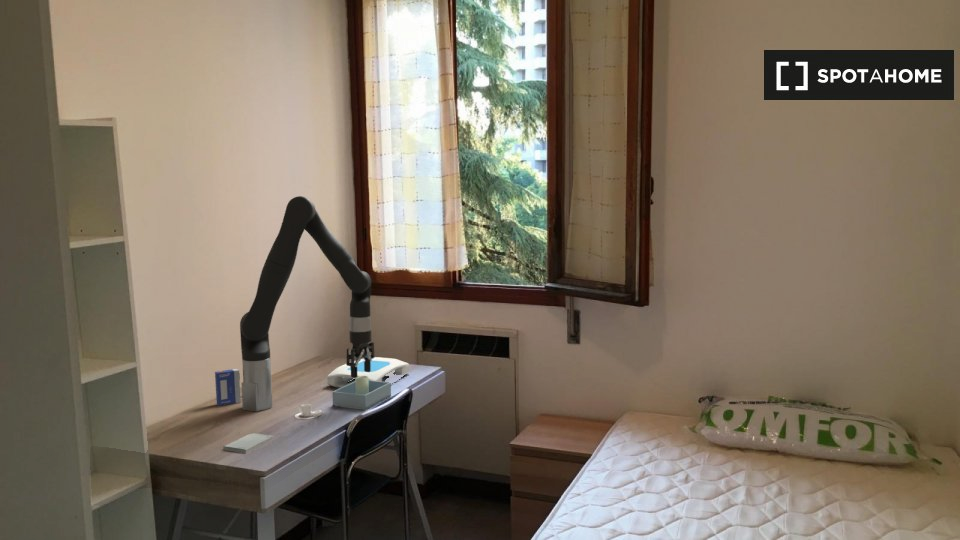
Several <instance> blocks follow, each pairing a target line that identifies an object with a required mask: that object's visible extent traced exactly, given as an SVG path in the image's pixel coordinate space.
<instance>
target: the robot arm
mask: <svg viewBox="0 0 960 540" xmlns="http://www.w3.org/2000/svg"><path fill="white" fill-rule="evenodd" d="M283 215H284V216H283V219H282V223H281V226H280V229H279V232H278V233H277V236H276V238H275V239H274V241H273V244H272V246H271V247H270V250H269V252H268V255H267V257H266V259H265V260H264V261H265V262H264V264H263V267H262V269H261V271H260V272H261V273H260V277H259V279H258V284H257V289H256V294H255V297H254V299H253V302H252V304H251V306H250V308H249V311H247V312H246V313H244V314H243V315H242V317H241V319H240V322H239V329H240V330H239V333H240V350H241V359H242V360H241V361H242V362H241V364H242V378H243V379H242V382H241V400H242V401H241V402H242V410H244V411H249V412H259V411H264V410H269V409H270V408H272V407H273V406H274V405H273V388H272V386H273V385H272V365H271V364H272V363H271V348H270V338H269V337H270V336H269V330H270V328H271V324H272V321H273V316H274V314H275V313H274V312H275V310H276V306H277V304H278V302H279V300H280V298H281V296H282V294H283V293H284V290H285V288H286V286H287V283H288V281H289V278H290V276H291V274H292V272H293V268H294V265H295V263H296V259H297V255H298V250H299V245H300V242H301V241H300V240H301V239H302V238H301V237H302V235H303V233H304V232H305V231H306V232H307V233H308V234H309V236H310V237H311V238H312V239H313V241H314V242H315V243H316V244H317V245H318V248H319V249H320V250H321V252H322V253H323V254H324V256H325V258H326V259H327V260H328V261H329V263H330V264H331V265H332V267H333V268H335V269H336V271H337V272H338V273H339V276H340V277H341V279H342V280H343V282H344V283H345V285H346V286H347V287H348V288H349V290H350V291H351V300H350V302H349V323H348V325H349V332H348V333H349V342H350V343H351V345H352V348H347V349H346V363H345V364H346V365H347V366H350V367H351V377H354V378H356V377H357V365H358V362H359V361H360V360H361V359H364V360H365V361H364V371H365V372H370V371H371V361H372V358H374V357H375V342H373V341H372V318H371V294H372V293H371V292H372V278H371V276H370V275H369V273H368V272H366V271H363V270H361V269H360V268H359V266H357V264H356V262H355V259H354V257H353V255H351V253H349V251H348V250H347V248H346V247H345V246H344V245H343V243H342V242H341V241H340V240H339V239H338V238H337V237H336V236H335V234H333V232H331V229H329V228H328V226H327V225H326V223H324V221H323V219H322V218H321V216H320V215H319V213H318V211H317V209H316V206H315V203H313V202H312V201H311V199H309V198H308V197H306V196H301V195H299V196H295V197H293V198H291V199H290V200H289V201H288V203H287V204H286V209H285V211H284V214H283ZM354 361H356V362H355V363H354Z"/></svg>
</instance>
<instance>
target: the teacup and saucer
mask: <svg viewBox="0 0 960 540" xmlns="http://www.w3.org/2000/svg"><path fill="white" fill-rule="evenodd" d="M300 407H301V409H300ZM298 411H299V413H296V414H295V415H294V418H295V419H298V420H310V419H314V418H317V417H319V416H321V415H323V410H321V409H317V410H314V411H312V404H311V403H303V404H301V405H299V406H298ZM300 415H302V416H303V417H300Z"/></svg>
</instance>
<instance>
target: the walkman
mask: <svg viewBox="0 0 960 540" xmlns="http://www.w3.org/2000/svg"><path fill="white" fill-rule="evenodd" d="M240 374H241V373H240V370H239V368H232V369H225V370H219V371H218V370H217V371H215V372H214V379H215V397H216V405H217V406H218V407H222V406H228V405H233V404H239V403H241V402H242V401H241V400H242V397H241V383H240V382H241V381H240V380H241V375H240Z"/></svg>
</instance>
